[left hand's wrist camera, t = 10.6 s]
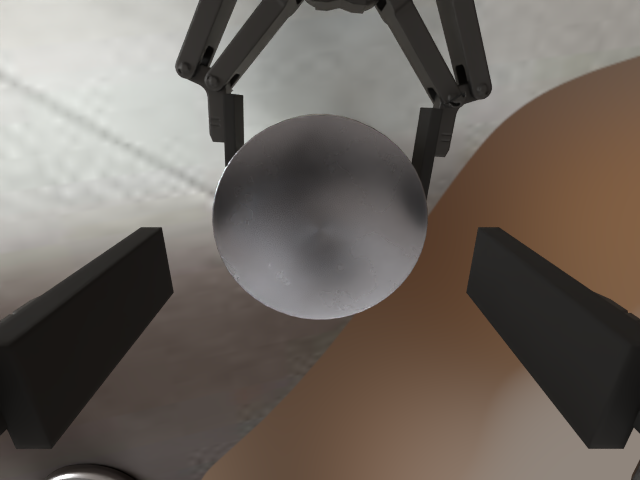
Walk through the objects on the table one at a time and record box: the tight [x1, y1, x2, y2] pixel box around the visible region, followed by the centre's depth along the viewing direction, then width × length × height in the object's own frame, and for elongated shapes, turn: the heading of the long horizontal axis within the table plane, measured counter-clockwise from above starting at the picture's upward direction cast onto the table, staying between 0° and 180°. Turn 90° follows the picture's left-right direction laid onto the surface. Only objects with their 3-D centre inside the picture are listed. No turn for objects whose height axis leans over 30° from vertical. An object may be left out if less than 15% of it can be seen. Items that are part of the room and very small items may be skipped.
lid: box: [212, 114, 428, 319], centre depth 17 cm, size 10×10×2 cm
